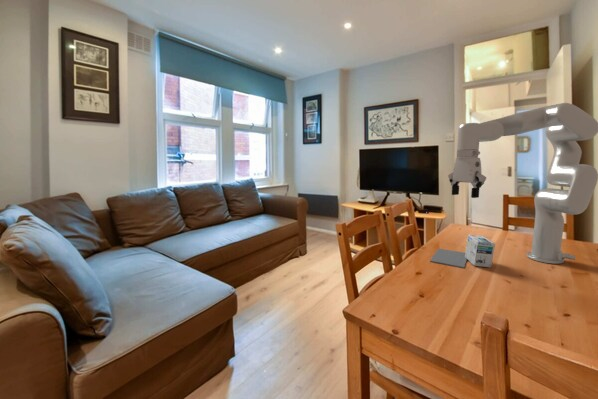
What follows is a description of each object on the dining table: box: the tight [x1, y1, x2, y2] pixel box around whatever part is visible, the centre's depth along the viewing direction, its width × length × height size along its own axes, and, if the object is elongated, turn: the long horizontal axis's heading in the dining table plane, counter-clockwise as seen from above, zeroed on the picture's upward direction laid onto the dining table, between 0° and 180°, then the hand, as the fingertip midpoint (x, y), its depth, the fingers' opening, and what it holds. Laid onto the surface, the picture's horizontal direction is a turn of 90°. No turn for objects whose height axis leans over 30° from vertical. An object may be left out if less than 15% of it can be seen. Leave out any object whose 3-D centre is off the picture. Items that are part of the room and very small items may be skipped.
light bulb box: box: [464, 234, 496, 268], centre depth 118 cm, size 11×7×11 cm, turn 168°
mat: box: [429, 248, 468, 269], centre depth 125 cm, size 13×20×1 cm, turn 144°
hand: (464, 196), depth 114 cm, fingers open, 9 cm apart
